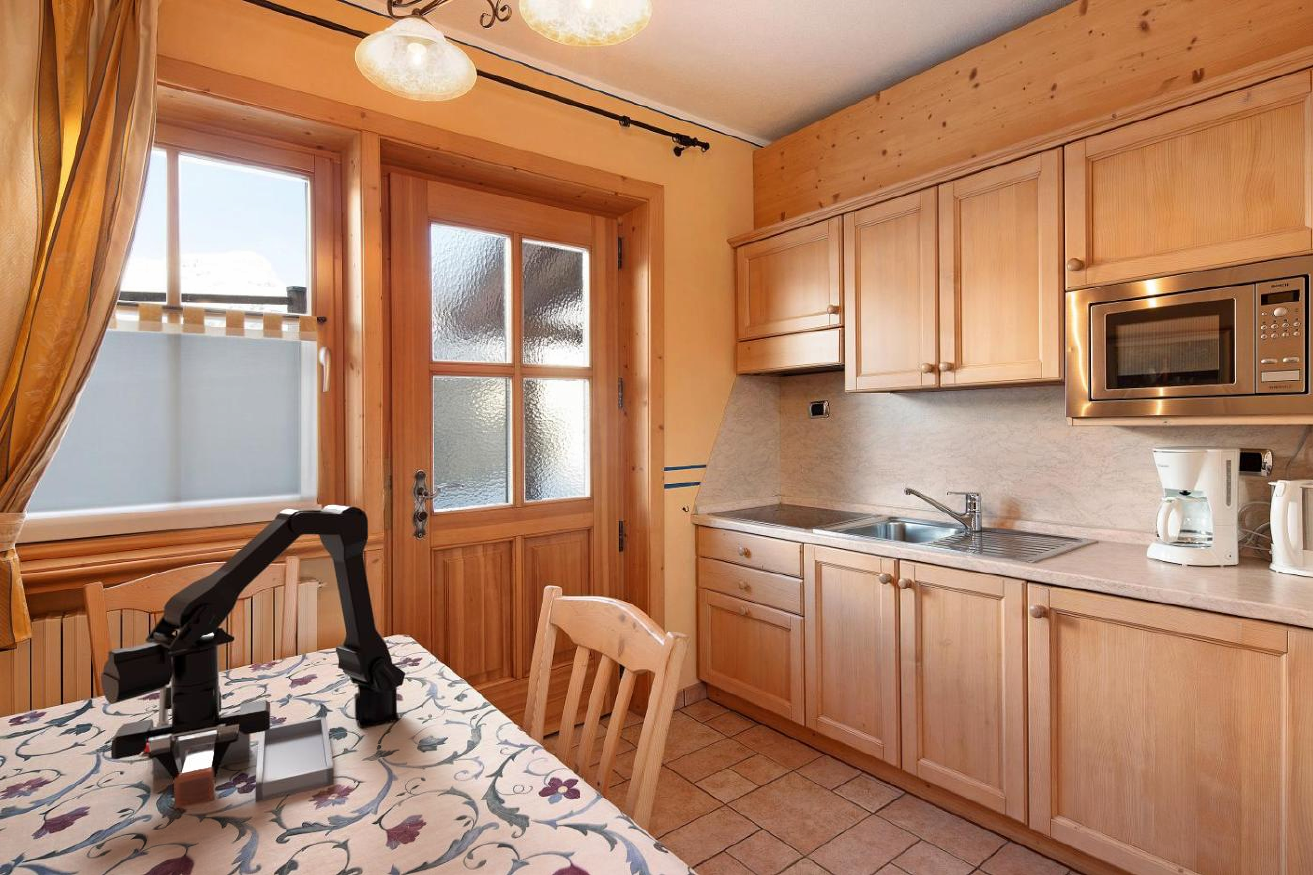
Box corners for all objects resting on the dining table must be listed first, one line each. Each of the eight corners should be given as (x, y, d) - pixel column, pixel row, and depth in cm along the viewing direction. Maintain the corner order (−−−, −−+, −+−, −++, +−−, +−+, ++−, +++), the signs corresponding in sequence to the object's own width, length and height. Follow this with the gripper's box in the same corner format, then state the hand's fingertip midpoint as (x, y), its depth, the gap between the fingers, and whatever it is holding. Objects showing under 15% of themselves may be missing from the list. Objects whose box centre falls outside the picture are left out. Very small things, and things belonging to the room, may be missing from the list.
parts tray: (326, 730, 119) (325, 716, 119) (333, 783, 101) (333, 767, 101) (259, 743, 114) (259, 728, 114) (255, 802, 96) (255, 784, 96)
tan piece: (188, 761, 108) (187, 735, 108) (222, 754, 110) (221, 729, 110) (174, 808, 95) (174, 778, 95) (213, 799, 97) (213, 770, 97)
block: (250, 749, 112) (250, 717, 112) (249, 759, 109) (249, 727, 108) (157, 767, 106) (156, 734, 106) (153, 779, 103) (152, 745, 102)
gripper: (270, 652, 110) (271, 747, 111) (126, 672, 101) (128, 776, 102) (268, 674, 100) (270, 779, 101) (109, 699, 91) (111, 814, 92)
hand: (197, 785), depth 99 cm, fingers closed on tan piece, 3 cm apart
